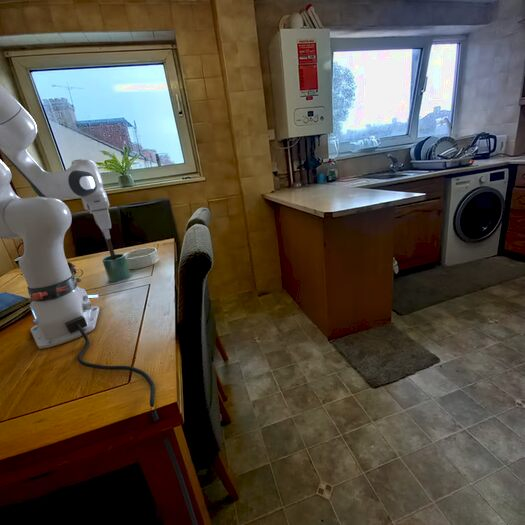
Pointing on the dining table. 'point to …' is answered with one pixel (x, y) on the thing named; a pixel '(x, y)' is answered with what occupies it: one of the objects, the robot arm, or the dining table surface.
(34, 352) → the dining table surface
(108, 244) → the stirring stick
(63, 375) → the dining table surface
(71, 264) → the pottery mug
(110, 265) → the utensil pot
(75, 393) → the dining table surface
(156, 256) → the bowl
